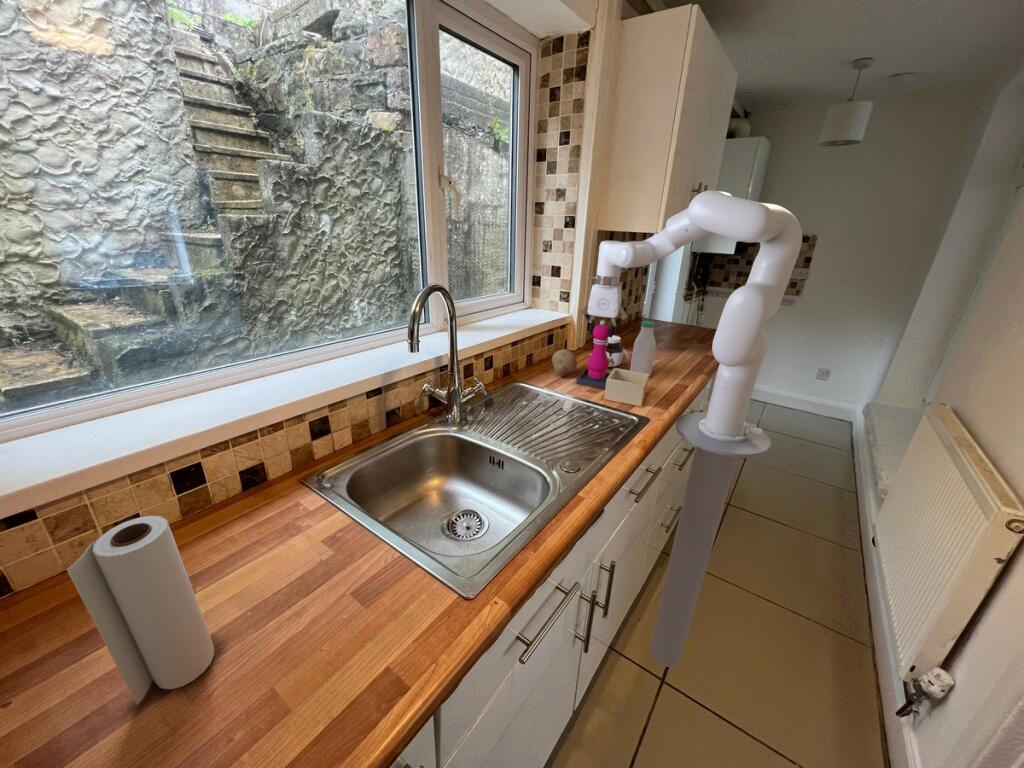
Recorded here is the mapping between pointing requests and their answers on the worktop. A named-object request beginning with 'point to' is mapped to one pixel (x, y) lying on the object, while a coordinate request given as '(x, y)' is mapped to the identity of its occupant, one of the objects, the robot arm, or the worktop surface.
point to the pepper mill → (599, 352)
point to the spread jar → (615, 352)
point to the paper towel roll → (144, 605)
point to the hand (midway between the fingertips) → (601, 334)
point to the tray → (592, 380)
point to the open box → (626, 386)
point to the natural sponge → (564, 362)
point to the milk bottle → (644, 349)
